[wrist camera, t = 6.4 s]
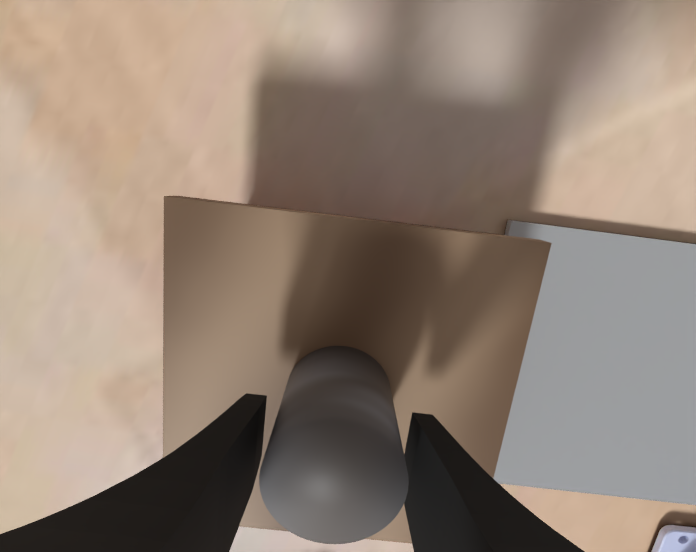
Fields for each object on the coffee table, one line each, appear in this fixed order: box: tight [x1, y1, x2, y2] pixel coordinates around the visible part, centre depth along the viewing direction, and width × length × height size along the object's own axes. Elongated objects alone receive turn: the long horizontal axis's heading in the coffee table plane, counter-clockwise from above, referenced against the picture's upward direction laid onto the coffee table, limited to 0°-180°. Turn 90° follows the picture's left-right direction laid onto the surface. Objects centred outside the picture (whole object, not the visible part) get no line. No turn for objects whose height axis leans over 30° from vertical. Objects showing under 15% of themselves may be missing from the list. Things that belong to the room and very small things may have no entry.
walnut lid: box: [163, 196, 552, 544], centre depth 11 cm, size 12×12×5 cm
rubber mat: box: [493, 220, 696, 505], centre depth 18 cm, size 13×13×1 cm
